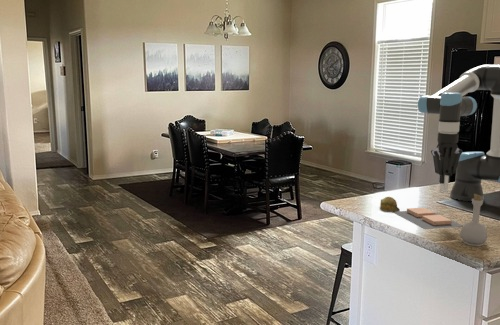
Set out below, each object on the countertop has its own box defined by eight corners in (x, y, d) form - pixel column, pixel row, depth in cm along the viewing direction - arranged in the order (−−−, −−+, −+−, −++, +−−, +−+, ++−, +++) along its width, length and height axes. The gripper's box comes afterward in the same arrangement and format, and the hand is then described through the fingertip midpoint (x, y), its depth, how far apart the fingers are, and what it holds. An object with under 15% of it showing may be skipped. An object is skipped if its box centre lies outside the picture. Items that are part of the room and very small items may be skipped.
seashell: (396, 220, 205) (405, 206, 206) (393, 214, 199) (402, 198, 201) (376, 212, 211) (385, 198, 213) (373, 205, 205) (382, 190, 207)
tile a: (423, 207, 203) (407, 208, 201) (434, 212, 195) (417, 213, 193) (423, 211, 203) (406, 212, 201) (434, 216, 195) (417, 217, 193)
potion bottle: (455, 239, 169) (459, 190, 166) (478, 238, 170) (483, 190, 167) (468, 247, 161) (473, 197, 158) (492, 247, 162) (498, 196, 158)
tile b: (439, 214, 192) (422, 215, 190) (451, 220, 184) (434, 221, 183) (438, 218, 192) (421, 219, 191) (451, 224, 185) (433, 225, 183)
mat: (428, 211, 206) (428, 209, 206) (464, 227, 183) (464, 226, 183) (391, 213, 202) (391, 211, 202) (424, 230, 179) (424, 228, 179)
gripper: (456, 130, 187) (451, 187, 191) (427, 131, 184) (423, 189, 188) (469, 133, 180) (464, 192, 184) (439, 134, 177) (435, 194, 181)
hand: (443, 191), depth 186 cm, fingers closed
